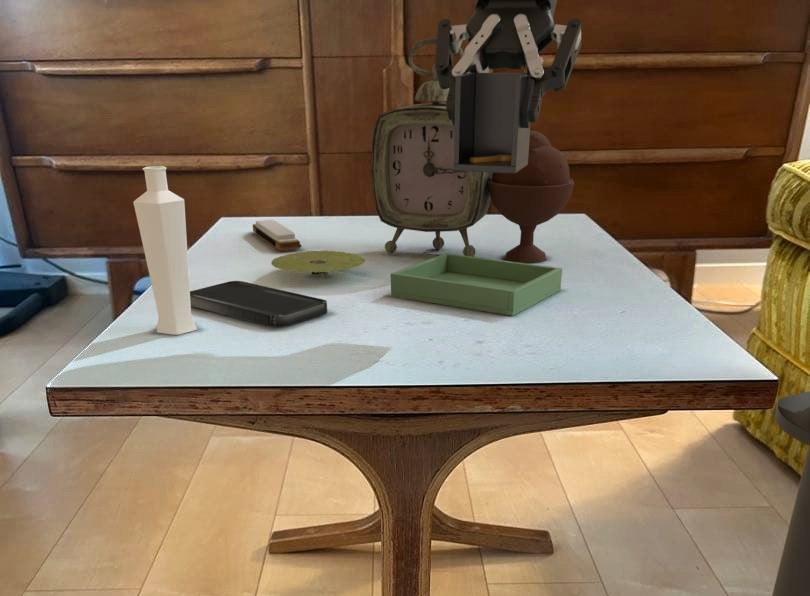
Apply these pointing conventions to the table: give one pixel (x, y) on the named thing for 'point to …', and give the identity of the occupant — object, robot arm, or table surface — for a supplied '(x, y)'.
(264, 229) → the harmonica
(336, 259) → the green round disc
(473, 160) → the key
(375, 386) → the table surface
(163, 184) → the perfume bottle
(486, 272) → the tray
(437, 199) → the tabletop clock
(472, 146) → the holder
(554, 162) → the ice cream bowl
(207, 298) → the phone
